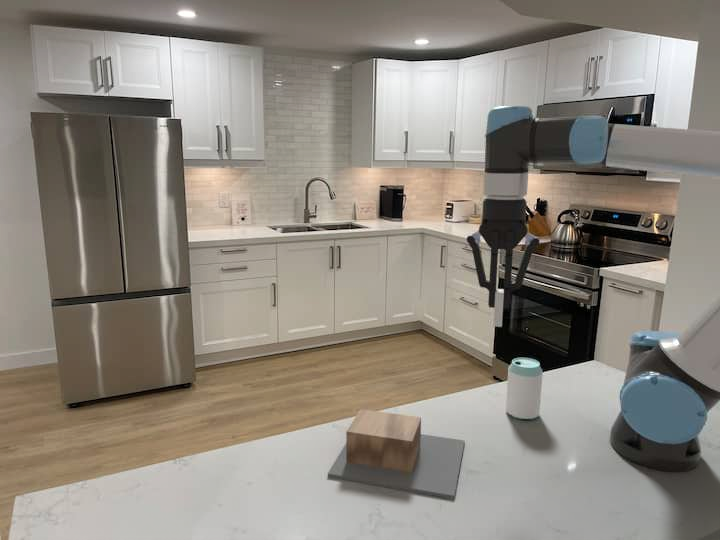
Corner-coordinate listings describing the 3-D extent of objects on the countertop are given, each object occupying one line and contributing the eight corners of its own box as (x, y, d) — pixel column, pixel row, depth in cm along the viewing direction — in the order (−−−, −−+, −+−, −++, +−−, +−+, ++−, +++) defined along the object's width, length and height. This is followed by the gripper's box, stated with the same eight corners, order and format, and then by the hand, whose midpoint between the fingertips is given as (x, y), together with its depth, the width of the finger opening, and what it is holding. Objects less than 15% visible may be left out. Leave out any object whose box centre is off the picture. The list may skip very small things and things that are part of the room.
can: (521, 424, 110) (525, 371, 108) (498, 410, 116) (501, 359, 114) (546, 417, 114) (550, 364, 111) (522, 403, 120) (526, 354, 117)
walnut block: (421, 417, 100) (360, 409, 103) (412, 441, 91) (346, 431, 94) (420, 446, 101) (360, 437, 104) (411, 472, 92) (346, 461, 96)
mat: (464, 443, 103) (464, 440, 103) (454, 499, 86) (454, 495, 86) (357, 427, 109) (357, 424, 109) (327, 476, 92) (327, 473, 92)
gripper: (542, 196, 95) (533, 321, 100) (469, 195, 99) (464, 316, 104) (544, 199, 88) (535, 333, 93) (465, 198, 92) (460, 327, 97)
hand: (497, 324), depth 98 cm, fingers closed
